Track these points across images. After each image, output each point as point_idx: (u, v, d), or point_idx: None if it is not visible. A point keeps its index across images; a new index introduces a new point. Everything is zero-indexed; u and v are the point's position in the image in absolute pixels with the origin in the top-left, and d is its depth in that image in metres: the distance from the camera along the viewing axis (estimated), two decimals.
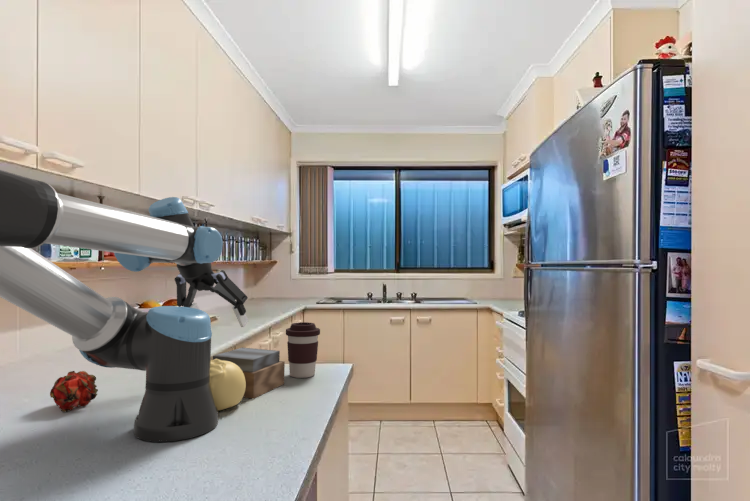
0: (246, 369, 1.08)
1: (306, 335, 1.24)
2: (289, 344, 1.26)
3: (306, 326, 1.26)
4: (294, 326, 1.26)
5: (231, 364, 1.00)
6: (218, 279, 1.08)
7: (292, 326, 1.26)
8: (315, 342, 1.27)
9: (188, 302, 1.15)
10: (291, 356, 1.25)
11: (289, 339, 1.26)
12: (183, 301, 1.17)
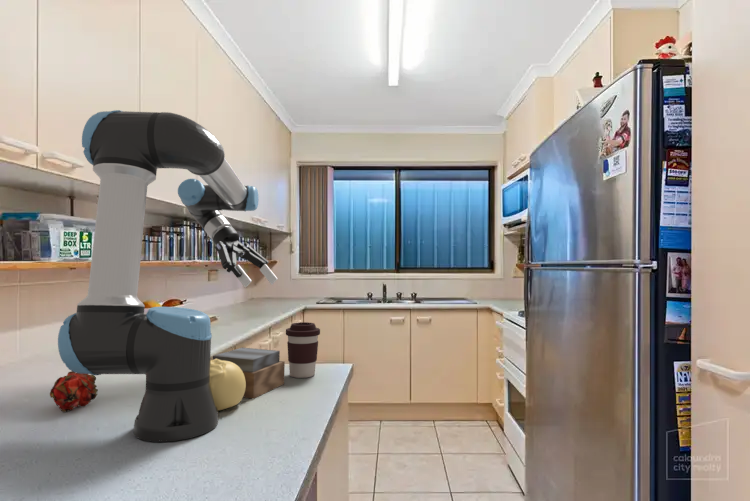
0: (246, 369, 1.08)
1: (306, 335, 1.24)
2: (289, 344, 1.26)
3: (306, 326, 1.26)
4: (294, 326, 1.26)
5: (231, 364, 1.00)
6: (247, 244, 1.43)
7: (292, 326, 1.26)
8: (315, 342, 1.27)
9: (235, 260, 1.30)
10: (291, 356, 1.25)
11: (289, 339, 1.26)
12: None
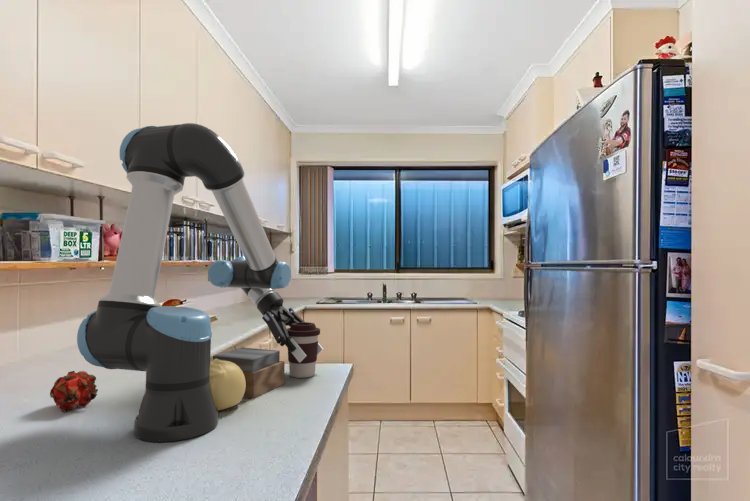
0: (246, 369, 1.08)
1: (306, 335, 1.24)
2: None
3: (306, 326, 1.26)
4: (294, 326, 1.26)
5: (231, 364, 1.00)
6: (292, 310, 1.37)
7: (292, 326, 1.26)
8: (315, 342, 1.27)
9: (287, 332, 1.25)
10: (291, 356, 1.25)
11: None
12: None
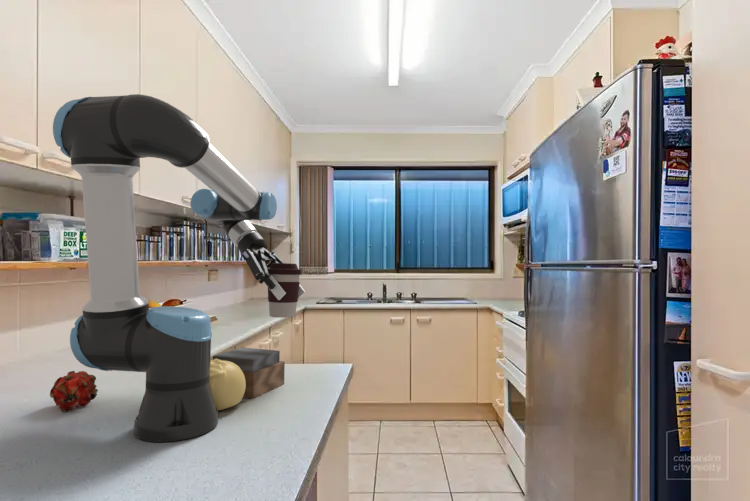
0: (246, 369, 1.08)
1: (286, 273, 1.20)
2: None
3: (287, 264, 1.22)
4: (274, 264, 1.22)
5: (231, 364, 1.00)
6: (274, 253, 1.33)
7: (272, 264, 1.23)
8: (296, 281, 1.23)
9: (266, 270, 1.21)
10: (271, 295, 1.21)
11: None
12: None
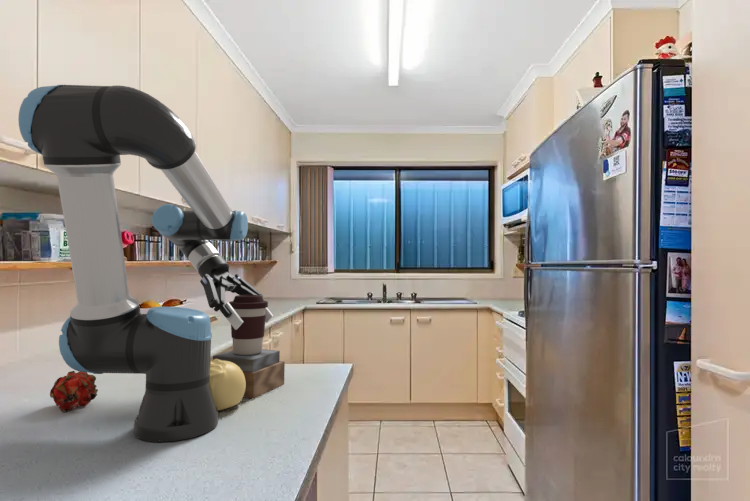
0: (246, 369, 1.08)
1: (250, 307, 1.11)
2: None
3: (251, 297, 1.12)
4: (237, 298, 1.13)
5: (231, 364, 1.00)
6: (239, 276, 1.24)
7: (235, 298, 1.13)
8: (261, 316, 1.14)
9: (224, 296, 1.10)
10: (234, 331, 1.12)
11: None
12: None
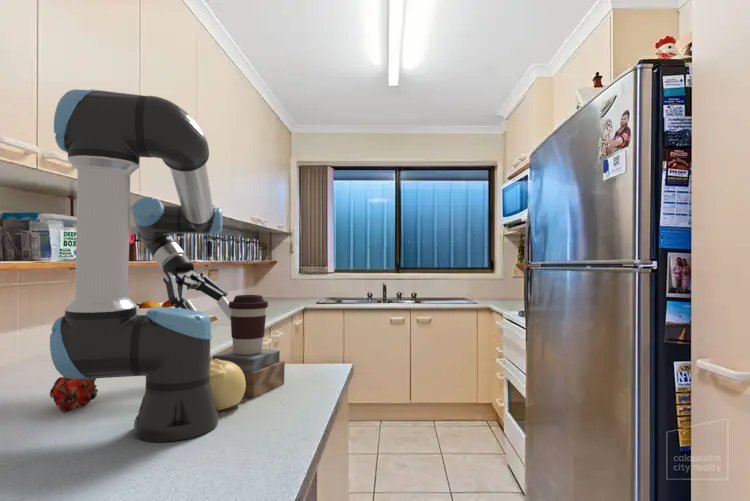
0: (246, 369, 1.08)
1: (250, 307, 1.11)
2: (232, 318, 1.13)
3: (251, 297, 1.12)
4: (237, 298, 1.13)
5: (231, 364, 1.00)
6: (204, 274, 1.28)
7: (235, 298, 1.13)
8: (261, 316, 1.14)
9: (185, 294, 1.15)
10: (234, 331, 1.12)
11: (232, 312, 1.13)
12: None
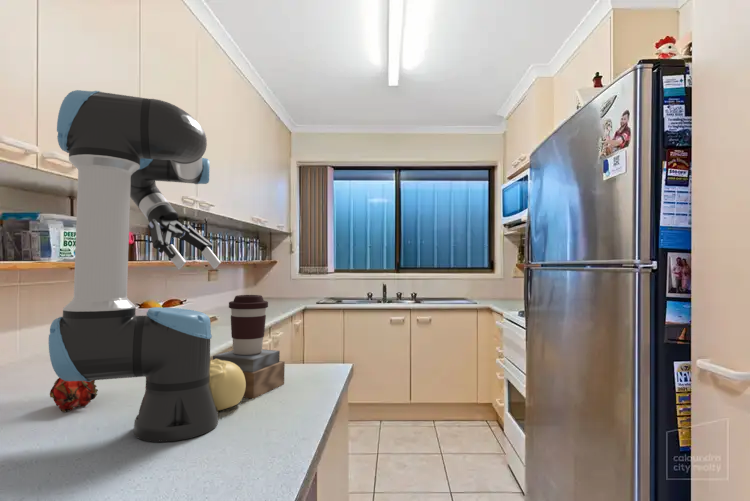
0: (246, 369, 1.08)
1: (250, 307, 1.11)
2: (232, 318, 1.13)
3: (251, 297, 1.13)
4: (237, 298, 1.13)
5: (231, 364, 1.00)
6: (189, 225, 1.30)
7: (235, 298, 1.13)
8: (261, 316, 1.14)
9: (169, 239, 1.17)
10: (234, 331, 1.12)
11: (232, 312, 1.13)
12: None
